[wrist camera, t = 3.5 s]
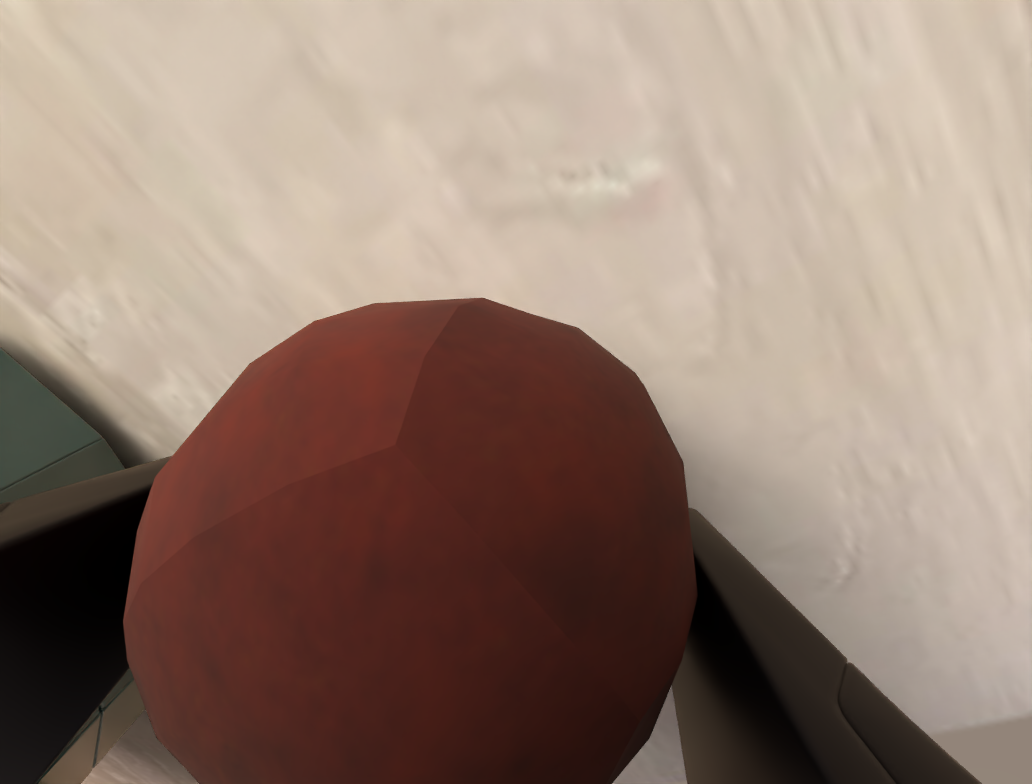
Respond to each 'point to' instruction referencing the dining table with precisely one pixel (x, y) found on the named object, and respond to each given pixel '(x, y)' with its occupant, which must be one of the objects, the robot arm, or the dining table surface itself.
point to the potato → (416, 559)
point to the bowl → (42, 467)
